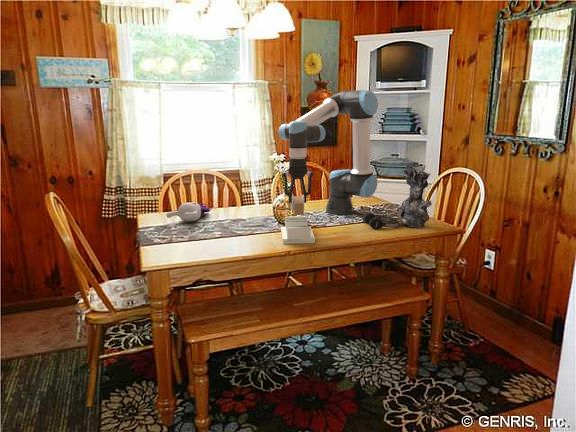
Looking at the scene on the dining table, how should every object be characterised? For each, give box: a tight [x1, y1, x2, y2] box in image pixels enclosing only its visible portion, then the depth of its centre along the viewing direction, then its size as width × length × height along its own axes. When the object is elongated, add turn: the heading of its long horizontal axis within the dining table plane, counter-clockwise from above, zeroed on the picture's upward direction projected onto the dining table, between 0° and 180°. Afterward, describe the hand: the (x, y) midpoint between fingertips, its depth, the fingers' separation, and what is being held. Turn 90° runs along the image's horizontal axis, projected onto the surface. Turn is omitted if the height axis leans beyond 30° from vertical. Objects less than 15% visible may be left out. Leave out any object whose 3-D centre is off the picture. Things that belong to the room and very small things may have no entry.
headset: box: [360, 205, 400, 230], centre depth 217 cm, size 14×10×20 cm
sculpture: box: [397, 164, 433, 229], centre depth 214 cm, size 14×15×30 cm
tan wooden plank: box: [293, 195, 305, 216], centre depth 196 cm, size 15×4×5 cm, turn 3°
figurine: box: [165, 202, 212, 223], centre depth 228 cm, size 16×10×30 cm
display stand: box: [280, 215, 316, 245], centre depth 200 cm, size 19×14×7 cm
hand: (297, 209), depth 197 cm, fingers closed on tan wooden plank, 4 cm apart
